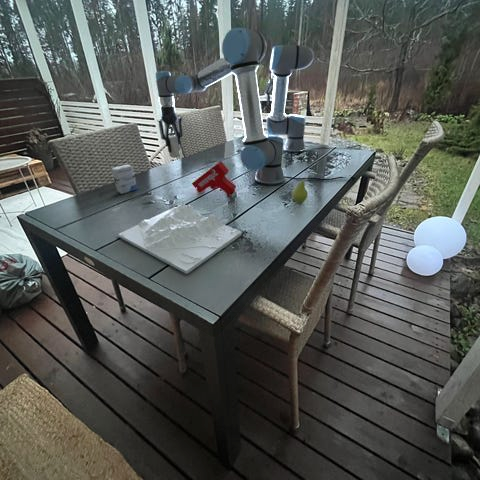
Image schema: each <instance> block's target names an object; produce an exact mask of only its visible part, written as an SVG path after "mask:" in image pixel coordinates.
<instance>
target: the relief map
mask: <svg viewBox="0 0 480 480" xmlns="http://www.w3.org/2000/svg"><path fill="white" fill-rule="evenodd" d="M242 235H243V231H242V230H239V229H238V228H234V227H231V226H229V225H226V224H224V223H223V222H222V221H221V220H220V219H219V218H218V216H216V215H214V214H212V215H210V216H207V217H205V216H204V215H203V214H199V213H198V212H197V211H196V209H195V208H194V207H193V206H192V205H191V204H187V205H186V204H185V202H182V204H180V205H179V206H174V207H171V208H170V209H168V210H165V211H163V212H161V213H159V214H157V215H154V216H153V217H150V218H149V219H143V220H141V221H140V222H139V223H138V224H137V225H134V226H132V227H129V228H128V229H126V230H123V231H122V232H120V233H117V236H118V238H120V239H121V240H123V241H125V242H127V243H129V244H131V245H132V246H134V247H136V248H138V249H140V250H141V251H143V252H145V253H147V254H149V255H151V256H153V257H154V258H156V259H158V260H160V261H162V262H163V263H165V264H166V265H169V266H171V267H173V268H175V269H176V270H178V271H180V272H182V273H183V274H185V275H188V274H190V273H191V272H192V271H193V270H195V269H196V268H198V267H199V266H201V265H202V264H203V263H205V262H206V261H208V260H209V259H211V258H212V257H214V256H215V255H216V254H217V253H219V252H220V251H222V250H223V249H224V248H226V247H227V246H229V245H230V244H231V243H233V242H235V241H236V240H237V239H238V238H240V237H241V236H242Z"/></svg>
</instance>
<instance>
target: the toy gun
mask: <svg viewBox="0 0 480 480" xmlns="http://www.w3.org/2000/svg"><path fill="white" fill-rule="evenodd" d="M228 173H229V169H228V168H227V166H226V165H225V164H224V163H223V162H222V161H219V162H217V163H216V164H214V166H212V167H211V168H210V169H209V170H207V171H206V172H204V173H203V174H202V175H201V176H199V177H198V178H197V179H196V180H194V181H193V182H192V183H191V184H192V186H193V187H194V189H195V190H196V191H197V193H199V194H201V193H203V192H204V191H205V190H207V189H208V188H210V189H211V190H213V191H215V190H216V189H218V188H219V189H220V190H222V191H223V192H224V193H225V194H226V196H227V197H229V196H230V195H233V194H235V192H236V188H237V186H236V184H235V183H233V182H232V181H230V180H229V179H228V178H227V177H226V175H227V174H228Z"/></svg>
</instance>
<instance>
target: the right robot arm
mask: <svg viewBox="0 0 480 480" xmlns="http://www.w3.org/2000/svg"><path fill="white" fill-rule="evenodd" d="M314 58H315V54H314V51H313V49H312V48H311V47H309V46H306V45H303V44H298V45H297V44H291V45H289V44H287V45H286V44H284V45H283V44H281V45H273V47H272V51H271V54H270V61H269V70H270V71H271V75H270V77H271V79H268V80H267V85H266V87H265V90H264V92H263V94H264V95H265V97H266V98H265V99H266V106H270V105H271V111H270V113H268V116H266V131H267V134H268V135H278V136H286V140H285V142H284V145H283V152H287V153H288V152H289V153H303V152H305V151H306V148H305V147H308V145H307V146H306V145H305V141H304V138H305V129H306V117H305V116H303V115H300V114H295V113H290V114H288V116H287V114H286V113H285V110H286V102H287V95H288V87H289V77H291V75H292V74H293V71H300V70H304V69H307V68H308V67H309V66H311V64H312V63H313V61H314ZM271 93H272V99H271ZM271 100H272V101H271ZM346 147H347V148H346V149H353V148H357V147H359V148H362V146H361V145H360V144H357V145H353V146H352V145H351V146H346ZM303 149H305V150H303ZM300 150H303V151H300Z"/></svg>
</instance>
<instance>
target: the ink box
mask: <svg viewBox="0 0 480 480" xmlns="http://www.w3.org/2000/svg"><path fill="white" fill-rule="evenodd" d="M110 170H111V173H112V176H113V181H114V184H115V188H116V191H117V192H118V193H119V194H121V195H122V194H126V193H130V192H132V191H133V192H134V191H136V190H138V185H137V181H136V177H135V171H134V167H133V165H130V164H124V165H120V166H119V165H118V166H115V167H111V168H110Z"/></svg>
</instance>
